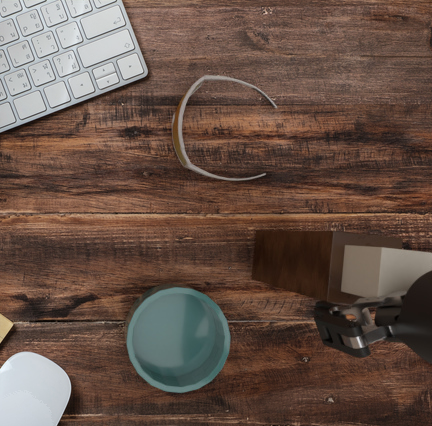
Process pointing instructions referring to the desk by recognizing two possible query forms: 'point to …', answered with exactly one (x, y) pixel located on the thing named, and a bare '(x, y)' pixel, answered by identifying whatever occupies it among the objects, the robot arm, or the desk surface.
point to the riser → (310, 261)
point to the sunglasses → (179, 117)
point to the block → (382, 270)
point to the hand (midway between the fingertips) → (361, 296)
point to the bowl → (176, 338)
